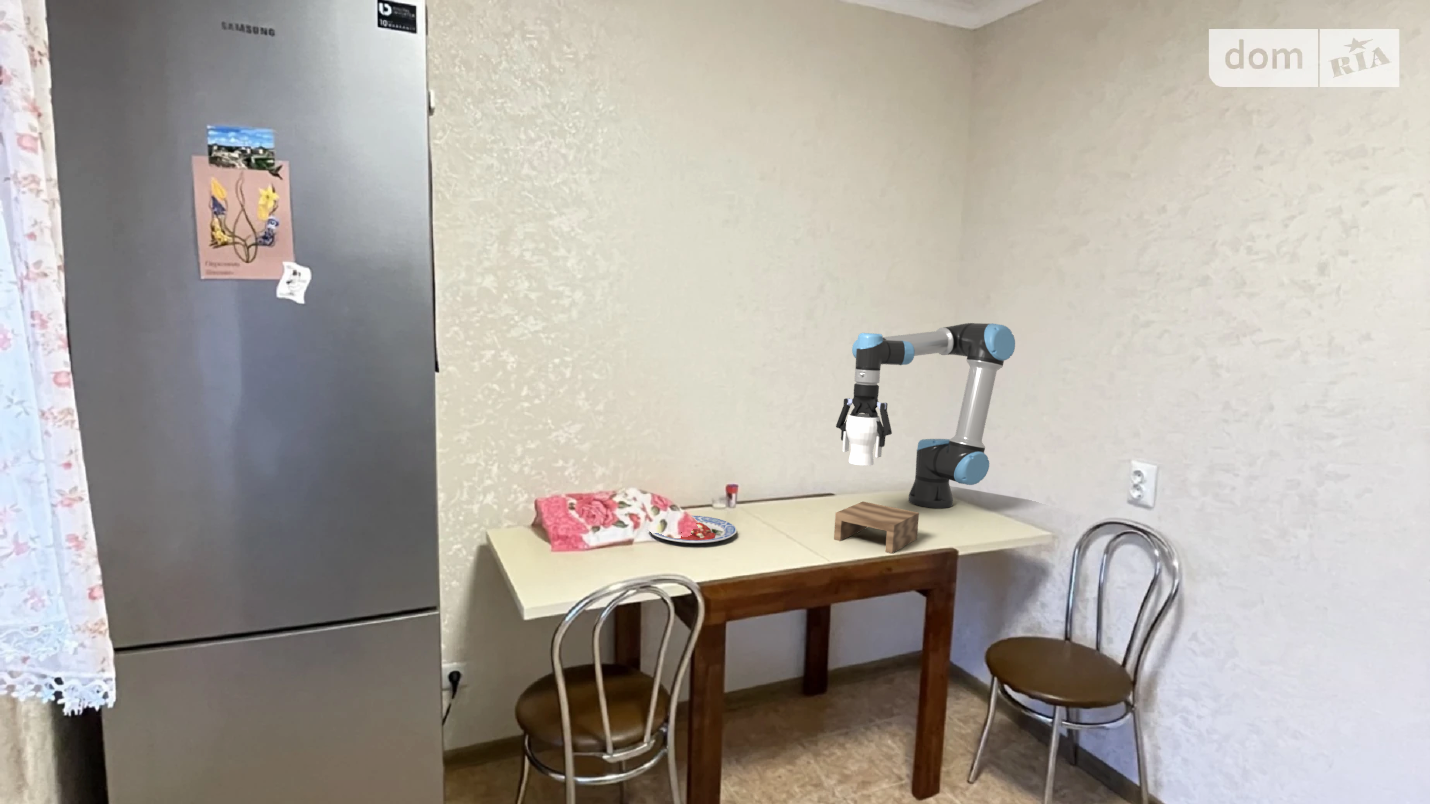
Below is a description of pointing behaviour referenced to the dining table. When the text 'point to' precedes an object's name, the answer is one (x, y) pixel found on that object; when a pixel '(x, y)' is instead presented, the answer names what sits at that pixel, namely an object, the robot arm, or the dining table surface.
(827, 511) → the dining table surface
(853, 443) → the cup
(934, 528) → the dining table surface
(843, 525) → the walnut shelf
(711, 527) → the ceramic plate
